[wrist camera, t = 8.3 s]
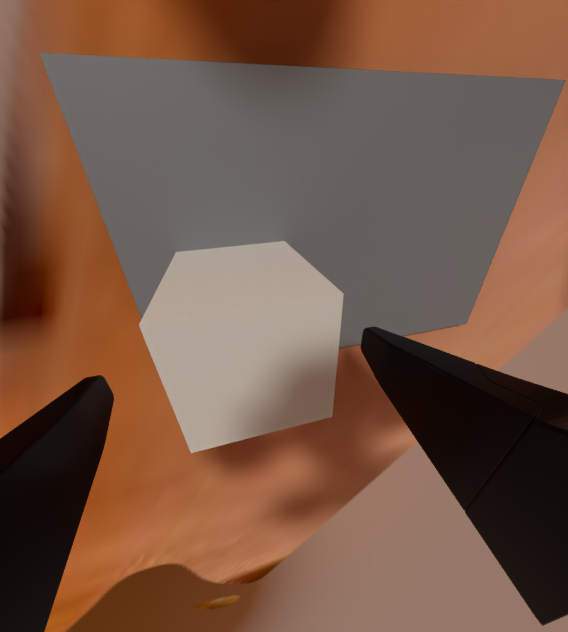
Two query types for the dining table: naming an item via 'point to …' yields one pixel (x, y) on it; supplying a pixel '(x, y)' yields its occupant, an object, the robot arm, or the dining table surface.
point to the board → (309, 172)
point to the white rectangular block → (244, 341)
